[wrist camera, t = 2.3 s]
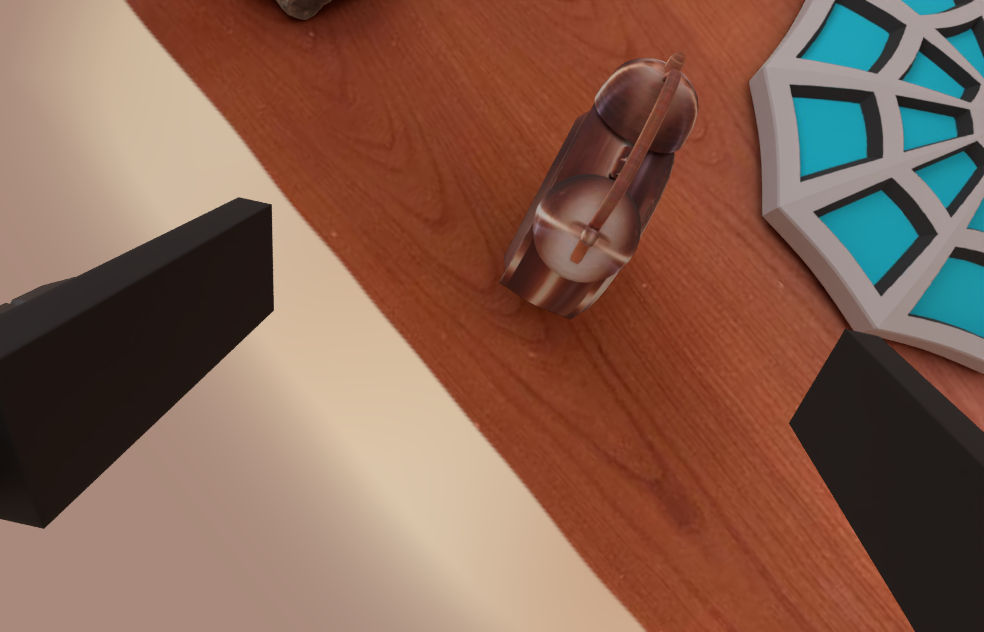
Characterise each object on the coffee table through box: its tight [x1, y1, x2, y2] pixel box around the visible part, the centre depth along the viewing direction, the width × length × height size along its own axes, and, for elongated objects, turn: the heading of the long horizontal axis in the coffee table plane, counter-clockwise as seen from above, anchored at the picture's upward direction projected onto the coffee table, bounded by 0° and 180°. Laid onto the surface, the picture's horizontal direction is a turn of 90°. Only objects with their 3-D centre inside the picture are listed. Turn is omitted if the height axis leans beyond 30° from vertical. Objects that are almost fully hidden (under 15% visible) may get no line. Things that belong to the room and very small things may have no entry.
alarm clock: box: [499, 52, 698, 319], centre depth 25 cm, size 11×5×15 cm, turn 153°
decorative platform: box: [749, 0, 984, 374], centre depth 34 cm, size 31×29×5 cm
